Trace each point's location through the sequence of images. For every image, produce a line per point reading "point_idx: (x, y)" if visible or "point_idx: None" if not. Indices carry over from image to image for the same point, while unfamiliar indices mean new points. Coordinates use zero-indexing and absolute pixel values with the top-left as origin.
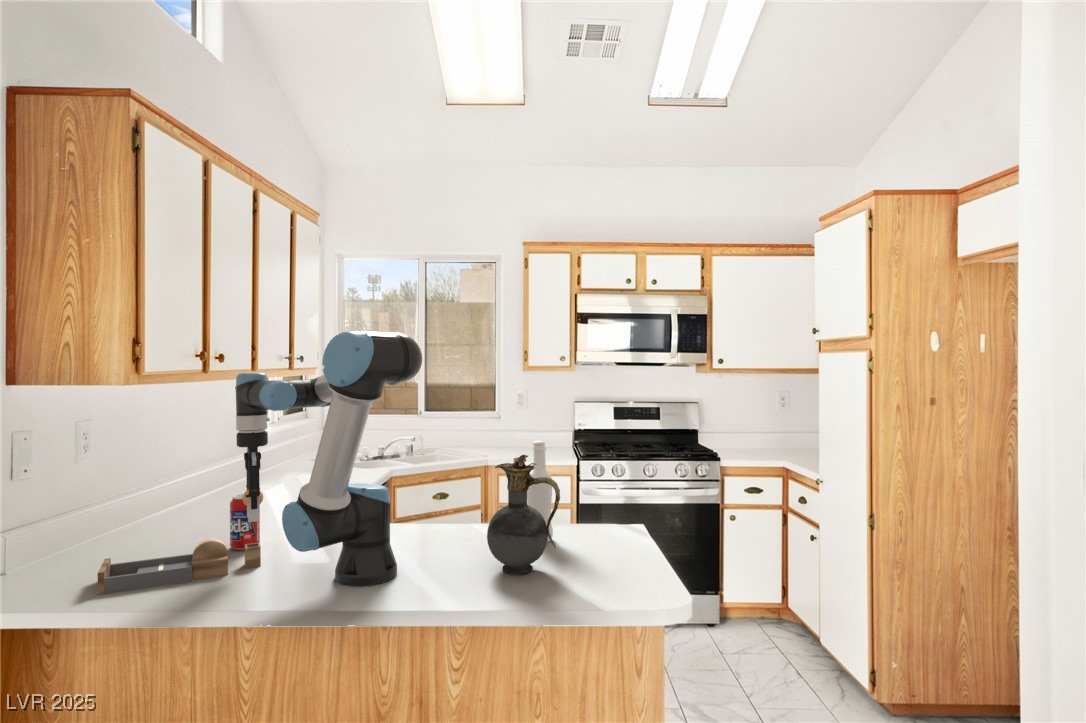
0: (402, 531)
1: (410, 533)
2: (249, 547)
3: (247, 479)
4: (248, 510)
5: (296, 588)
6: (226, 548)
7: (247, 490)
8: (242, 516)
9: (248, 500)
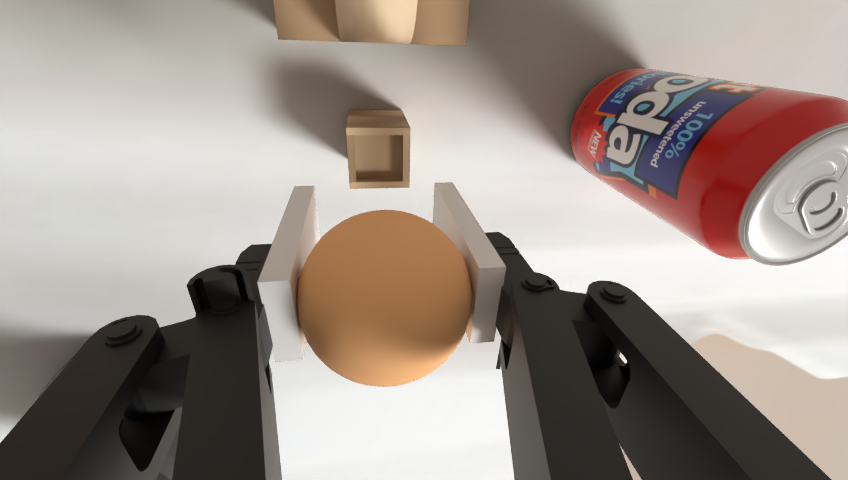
0: (487, 467)
1: (461, 477)
2: (349, 145)
3: (529, 388)
4: (281, 221)
5: (63, 250)
6: (386, 39)
7: (382, 306)
8: (662, 149)
9: (264, 266)
